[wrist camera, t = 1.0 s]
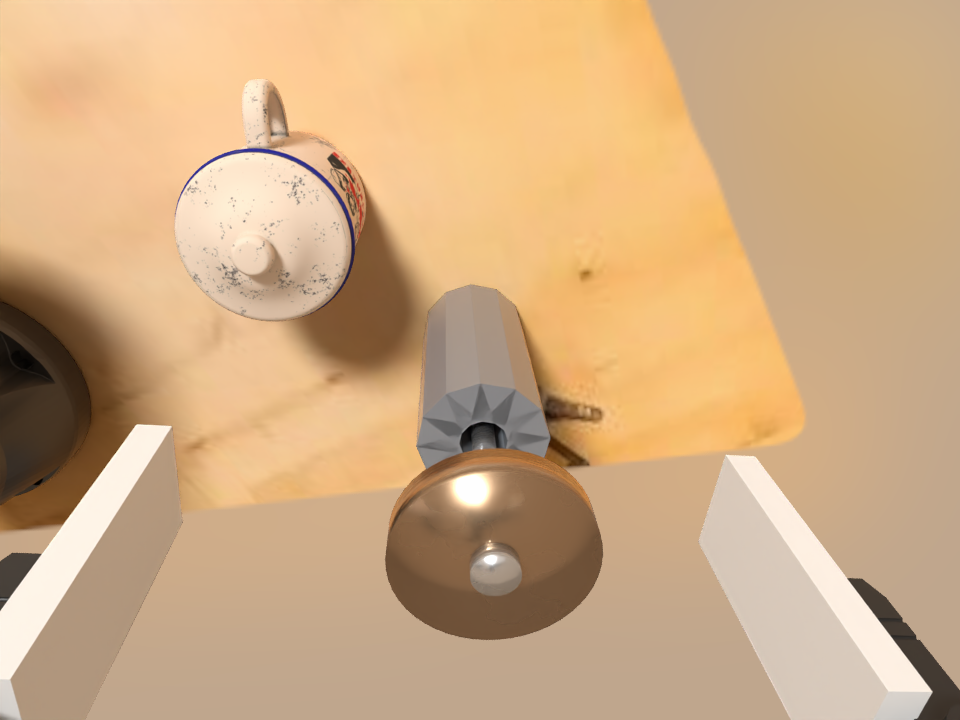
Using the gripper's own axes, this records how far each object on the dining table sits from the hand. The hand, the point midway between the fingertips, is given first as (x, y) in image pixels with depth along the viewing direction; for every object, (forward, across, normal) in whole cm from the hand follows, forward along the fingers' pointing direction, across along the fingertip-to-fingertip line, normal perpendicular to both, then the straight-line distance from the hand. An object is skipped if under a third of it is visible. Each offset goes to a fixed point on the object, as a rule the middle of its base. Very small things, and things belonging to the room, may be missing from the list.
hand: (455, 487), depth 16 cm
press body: (+30, +3, -10) cm, 32 cm away
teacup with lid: (+30, -9, 0) cm, 32 cm away
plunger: (+21, +3, -9) cm, 23 cm away
